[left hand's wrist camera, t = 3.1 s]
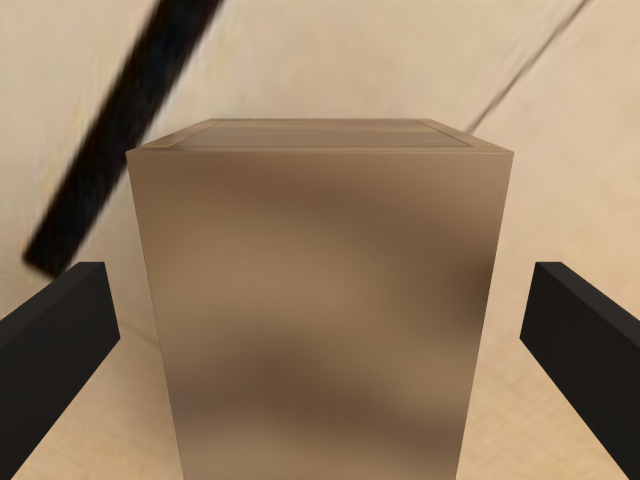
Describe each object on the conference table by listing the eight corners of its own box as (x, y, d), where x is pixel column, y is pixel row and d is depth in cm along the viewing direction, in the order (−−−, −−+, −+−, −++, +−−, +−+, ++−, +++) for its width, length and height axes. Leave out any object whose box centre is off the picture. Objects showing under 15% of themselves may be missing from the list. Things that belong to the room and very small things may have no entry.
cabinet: (400, 423, 28) (437, 584, 19) (239, 423, 28) (202, 583, 19) (430, 118, 21) (514, 151, 12) (209, 118, 21) (124, 151, 12)
